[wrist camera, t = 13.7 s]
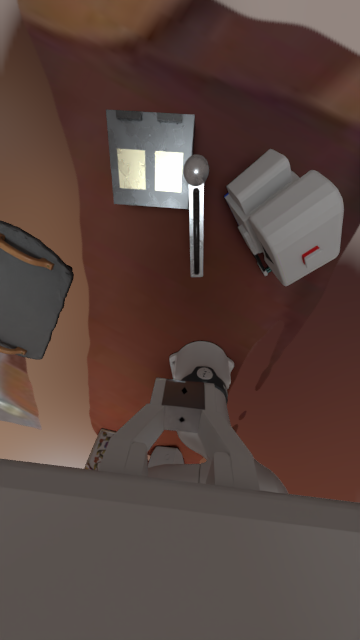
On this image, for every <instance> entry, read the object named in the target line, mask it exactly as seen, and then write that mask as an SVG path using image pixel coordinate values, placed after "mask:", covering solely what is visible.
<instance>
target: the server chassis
mask: <svg viewBox="0 0 360 640" xmlns="http://www.w3.org/2000/svg"><path fill="white" fill-rule="evenodd" d="M106 116H107V127H108V139H109V150H110V162H111V173H112V185H113V197H114V204H126V205H139V206H152V207H166V208H179V209H188V208H189V184H188V183H187V181H186V180H185V178H184V174H183V168H184V164H185V162H186V160H187V159H188V158H189V157H190V156H192V155H193V150H194V137H195V115H188V114H172V113H154V112H138V111H121V110H106Z"/></svg>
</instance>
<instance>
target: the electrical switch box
mask: <svg viewBox="0 0 360 640" xmlns="http://www.w3.org/2000/svg"><path fill="white" fill-rule="evenodd" d="M163 464H184V460H183V457H182V453H181V452H180V451H179V450H178V448H172V447H163V446H156V448H155V449H154V451H153V452H152V454H151V457H150V460H149V463H148V468H150V467H154V466H158V465H163Z"/></svg>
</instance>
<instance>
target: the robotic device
mask: <svg viewBox="0 0 360 640" xmlns="http://www.w3.org/2000/svg"><path fill="white" fill-rule="evenodd" d="M226 187H227V190H228V193H227V194H226V195H225V196H224V198H225V199H226V201H227V203H228V205H229V207H230V209H231V211H232V213H233V215H234V217H235V219H236V221H237V223H238V225H239V226H238V229H239V231H240V233H241V234H242V236H243V238H244V240H245V242H246V244H247V245H248V247H249V248H250V250H251V251H252V253H253V255H254V257H255V258H256V260H257V262H258V265H259V267H260V269H261V271H262V272H263V273H264V275H265V276H267V275H268V273H269V272H271V271H273V273H274V274H275V276H276V277H277V278H278V280H279V281H280V282H281V283H282V284H283V285H284V286H288V285H290V284H291V283H293V282H295V281H297V280H298V279H300V278H302V277H303V276H305V275H307V274H309V273H310V272H312V271H314V270H316V269H317V268H319V267H321V266H322V265H324V264H326V263H328V262H329V261H331V260H333V259H335V258H336V257H337V256H338V254H339V251H340V241H341V231H342V221H343V211H344V206H343V199H342V197H341V195H340V193H339V191H338V189H337V188H336V187H335V186H334V185H333V183H332V182H331V181H329V180H328V179H327V178H325V177H324V176H323V175H321V174H320V173H318V172H317V171H315V170H311V171H309V172H308V173H306V174H305V175H304V176H302V177H301V178H299V176H297V175H296V174H295V173H294V172H292V171H291V169H290V164H289V161H288V160H287V158H286V157H285V156H284V155H282V154H280V153H278V152H276V151H274V150H272V149H269V150H268V151H267V152H266V153H265V154H264V155H262V156H261V157H260V158H259V159H258V160H257V161H255V162H254V163H253V164H252V165H251V166H250V167H248V168H247V169H246V170H245V171H244V172H243V173H241V174H240V175H239V176H238V177H237V178H236V179H234V180H233V181H232V182H231V183H230V184H229V185H227V186H226ZM262 252H263V253H264V260H265V262H266V263H267V265H268V266H269V267H268V268H266V269H265V268H264V267H263V265H262V263H261V260H260V258H259V256H258V254H257V253H262Z"/></svg>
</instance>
